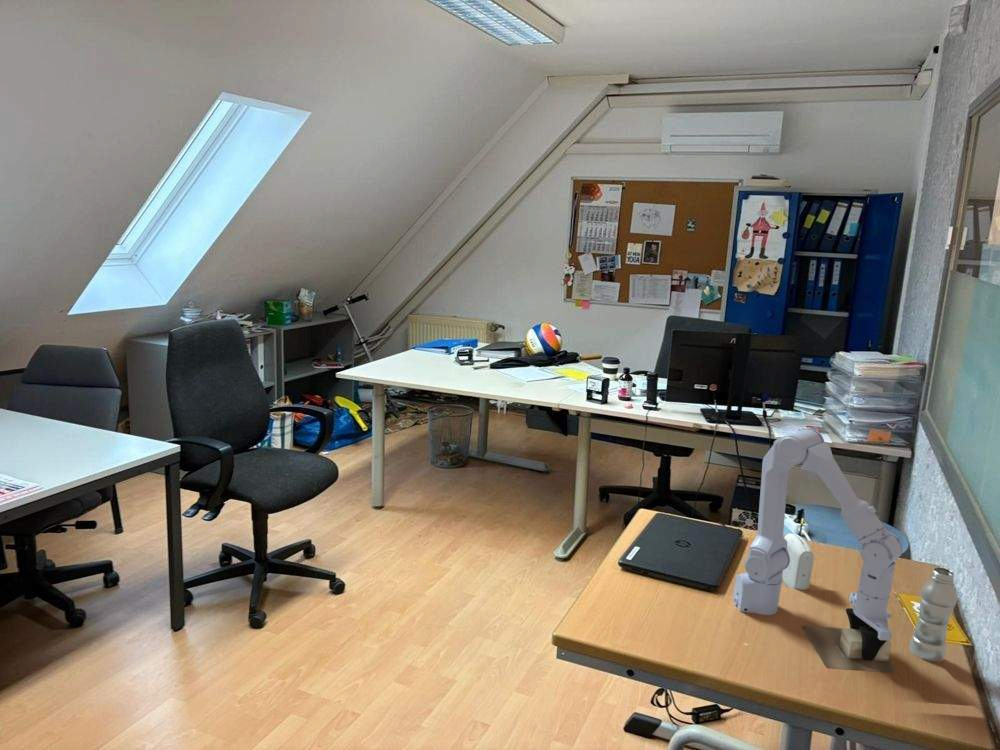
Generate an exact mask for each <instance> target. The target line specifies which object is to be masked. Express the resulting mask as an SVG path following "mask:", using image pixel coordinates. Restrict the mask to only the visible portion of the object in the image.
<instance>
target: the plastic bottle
mask: <svg viewBox="0 0 1000 750" xmlns="http://www.w3.org/2000/svg"><path fill="white" fill-rule="evenodd" d="M954 574H955V573H954V572H953V571H952V570H950V569H948V568H945V567H940V566H939V567H938V566H937V567H934V568H933V570H932V573H931V579H930V580H929V581H928V582H927V583H925V584H924V585H923V587H922V588H921V590H920V602H919V612H918V618H917V622H916V626H915V628H914V632H913V633H912V636H911V638H910V640H909V651H910V652H911V653H912V654H913V655H914V656H916V657H917V658H918V659H921V660H924V661H928V662H934V663H935V662H938V663H941V662H942V661H943V659H944V657H945V656H946V649H947V648H946V644H947V643H946V639H947V632H948V626H949V623H950V620H951V616H952V614H953V611H954V609H955V606H956V605H957V602H958V598H957V596H958V595H957V593H956V591H955V589H954V587H953V585H952V584H953V583H954V577H955V575H954Z"/></svg>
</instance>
